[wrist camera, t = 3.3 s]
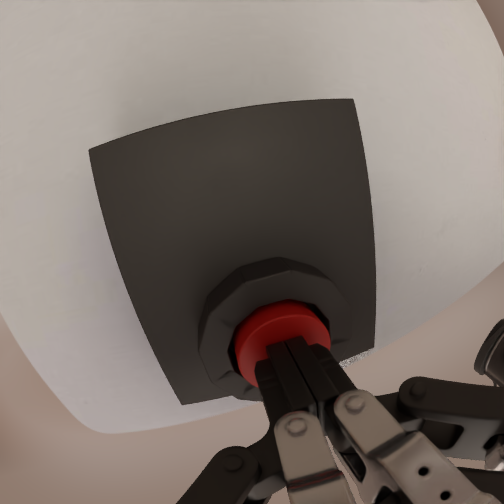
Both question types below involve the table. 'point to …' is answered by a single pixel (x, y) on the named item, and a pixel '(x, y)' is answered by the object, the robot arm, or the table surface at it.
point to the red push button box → (240, 232)
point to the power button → (275, 332)
